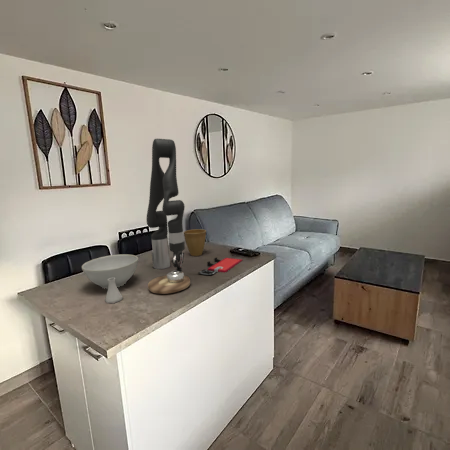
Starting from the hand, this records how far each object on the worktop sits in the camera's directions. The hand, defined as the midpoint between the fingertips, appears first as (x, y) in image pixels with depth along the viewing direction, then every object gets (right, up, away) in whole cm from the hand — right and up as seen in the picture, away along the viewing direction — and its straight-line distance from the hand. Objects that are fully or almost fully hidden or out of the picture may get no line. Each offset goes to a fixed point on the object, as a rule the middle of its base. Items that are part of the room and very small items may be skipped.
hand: (179, 273), depth 148 cm
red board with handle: (+20, 0, +19) cm, 28 cm away
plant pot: (+4, +5, +47) cm, 48 cm away
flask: (-26, -9, -18) cm, 33 cm away
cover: (-1, -2, -6) cm, 6 cm away
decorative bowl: (-34, -6, +2) cm, 35 cm away
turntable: (-4, -5, -6) cm, 9 cm away
